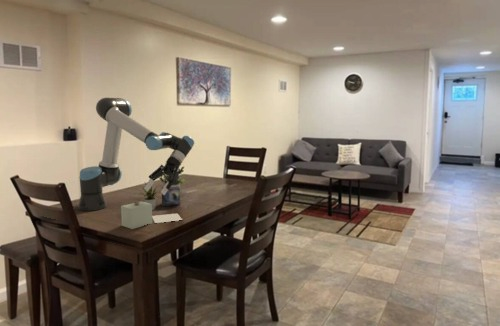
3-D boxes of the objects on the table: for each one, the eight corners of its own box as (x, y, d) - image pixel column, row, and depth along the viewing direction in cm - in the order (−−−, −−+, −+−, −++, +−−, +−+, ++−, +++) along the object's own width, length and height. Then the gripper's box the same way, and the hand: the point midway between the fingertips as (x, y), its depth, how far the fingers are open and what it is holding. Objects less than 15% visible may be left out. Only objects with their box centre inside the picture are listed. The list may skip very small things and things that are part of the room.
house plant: (131, 208, 211) (130, 180, 209) (152, 204, 221) (152, 177, 218) (143, 213, 201) (142, 184, 199) (165, 208, 210) (164, 181, 208)
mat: (155, 223, 183) (155, 222, 183) (151, 216, 195) (151, 215, 195) (182, 220, 189) (182, 219, 189) (177, 214, 200) (177, 213, 200)
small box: (162, 206, 216) (161, 189, 215) (161, 203, 222) (161, 187, 221) (180, 205, 219) (179, 188, 217) (179, 202, 225) (178, 186, 224)
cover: (132, 229, 174) (131, 206, 173) (121, 225, 180) (120, 203, 178) (152, 223, 184) (151, 201, 182) (142, 220, 189) (141, 198, 187)
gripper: (195, 166, 193) (174, 199, 183) (164, 162, 208) (143, 192, 198) (187, 157, 188) (165, 190, 178) (156, 154, 203) (134, 184, 193)
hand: (153, 191), depth 188 cm, fingers open, 13 cm apart
